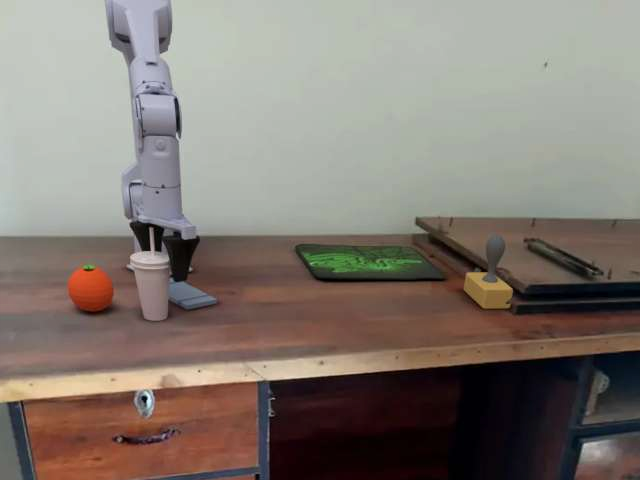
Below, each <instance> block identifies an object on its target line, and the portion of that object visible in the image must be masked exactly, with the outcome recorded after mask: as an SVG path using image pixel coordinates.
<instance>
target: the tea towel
mask: <svg viewBox="0 0 640 480" xmlns="http://www.w3.org/2000/svg"><path fill="white" fill-rule="evenodd" d="M168 301H170V302H172V303H174V304H175V305H178V306H180V307H182V308H183V309H185V310H187V311H189V310H192V309H197V308H198V309H199V308H202V307H207V306H211V305H216V304H218V298H216V297H214V296H212V295H210V294H208V293H206V292H204V291H202V290H201V289H198V288H196V287H194V286H192V285H190V284H188V283H186V282H185V281H181V282H174V281H173V278H172V277H170V283H169V298H168Z"/></svg>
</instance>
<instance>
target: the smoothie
mask: <svg viewBox="0 0 640 480" xmlns="http://www.w3.org/2000/svg"><path fill="white" fill-rule="evenodd" d="M149 229H150V243H151V251H143V252H137V253H135V252H134V253H132V254H131V255H130V256H129V257H130V258H129V259H130V263H129V264H131V265H132V266H133V268H134V271H133V272H134V278H135V282H136V286H137V293H138V296H139V301H140V305H141V306H140V307H141V310H142V315H143V319H145V320H147V321H151V322H161V321H164V320H166V319H167V318H168V314H169V313H168V312H169V300H168V298H169V283H170V278H171V275H170V260H169V256H168V254H166V253H163V252H157V251H155V247H154V232H153V227H149Z"/></svg>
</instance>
